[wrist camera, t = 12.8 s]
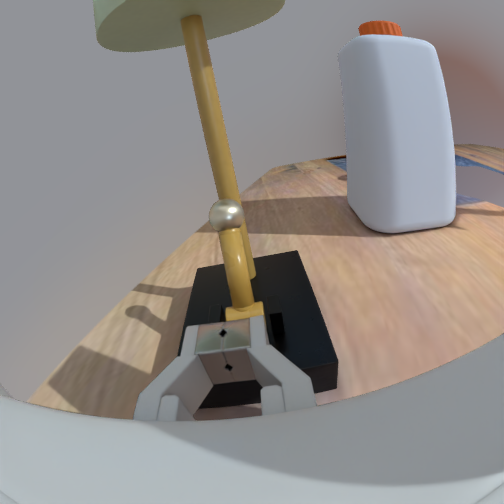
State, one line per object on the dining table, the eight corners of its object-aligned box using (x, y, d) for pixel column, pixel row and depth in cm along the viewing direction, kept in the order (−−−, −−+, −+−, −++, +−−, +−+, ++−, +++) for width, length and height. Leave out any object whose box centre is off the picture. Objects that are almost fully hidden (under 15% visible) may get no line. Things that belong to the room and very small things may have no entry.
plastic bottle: (419, 193, 43) (402, 40, 30) (465, 227, 29) (450, 21, 17) (342, 201, 45) (317, 37, 32) (370, 241, 32) (339, 5, 19)
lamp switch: (267, 333, 17) (240, 192, 16) (229, 339, 17) (201, 200, 16) (266, 322, 19) (243, 197, 18) (232, 327, 19) (208, 204, 18)
